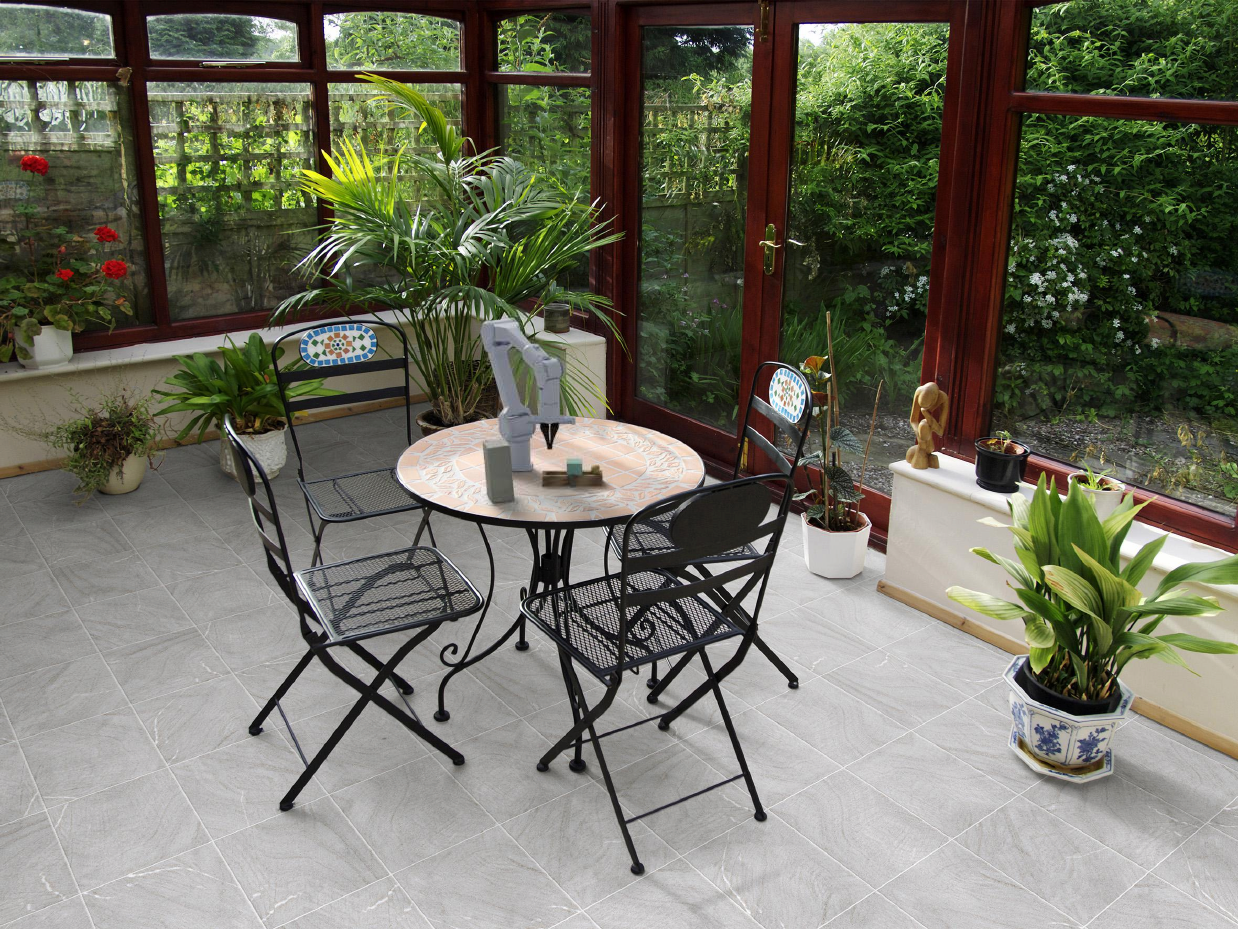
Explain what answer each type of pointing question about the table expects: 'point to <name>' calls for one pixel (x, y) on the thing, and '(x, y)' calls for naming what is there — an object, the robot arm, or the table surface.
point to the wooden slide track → (573, 478)
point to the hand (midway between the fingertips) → (549, 448)
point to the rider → (574, 466)
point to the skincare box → (498, 470)
